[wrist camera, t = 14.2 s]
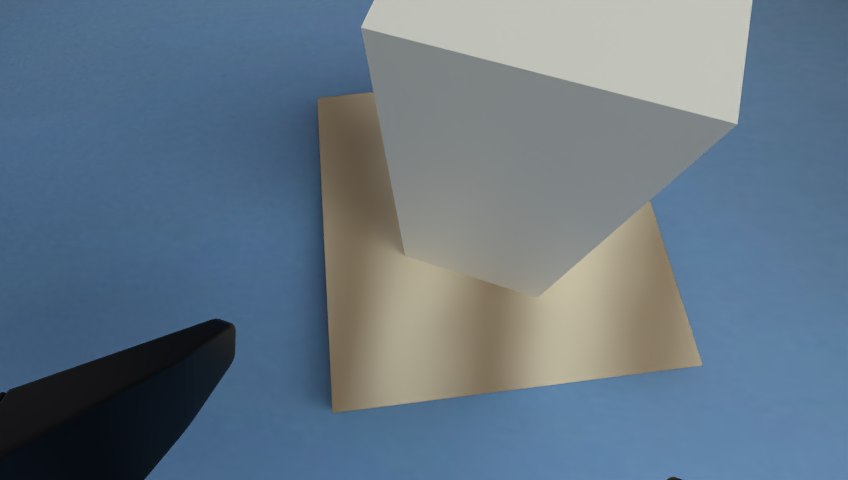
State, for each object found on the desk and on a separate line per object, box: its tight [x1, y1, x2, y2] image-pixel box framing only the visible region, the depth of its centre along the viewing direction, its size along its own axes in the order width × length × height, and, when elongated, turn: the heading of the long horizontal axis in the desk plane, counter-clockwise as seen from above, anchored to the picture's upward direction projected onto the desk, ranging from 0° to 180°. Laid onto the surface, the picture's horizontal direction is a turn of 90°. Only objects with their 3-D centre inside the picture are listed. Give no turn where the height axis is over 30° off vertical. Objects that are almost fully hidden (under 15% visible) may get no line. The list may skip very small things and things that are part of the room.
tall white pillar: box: [361, 0, 752, 298], centre depth 13 cm, size 6×6×12 cm
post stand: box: [317, 92, 702, 413], centre depth 17 cm, size 14×14×4 cm
